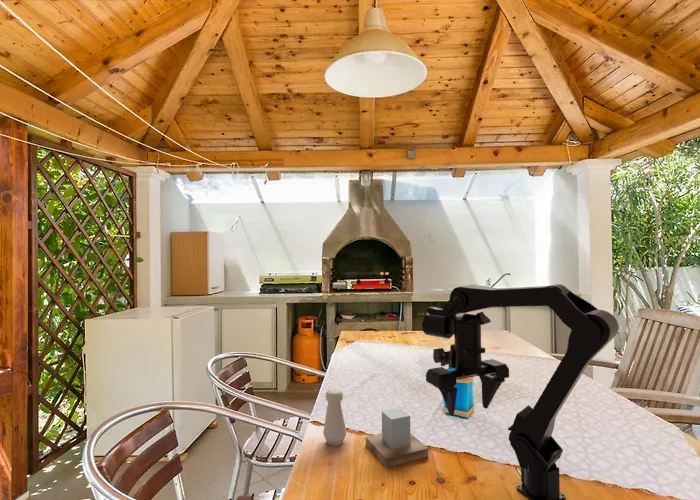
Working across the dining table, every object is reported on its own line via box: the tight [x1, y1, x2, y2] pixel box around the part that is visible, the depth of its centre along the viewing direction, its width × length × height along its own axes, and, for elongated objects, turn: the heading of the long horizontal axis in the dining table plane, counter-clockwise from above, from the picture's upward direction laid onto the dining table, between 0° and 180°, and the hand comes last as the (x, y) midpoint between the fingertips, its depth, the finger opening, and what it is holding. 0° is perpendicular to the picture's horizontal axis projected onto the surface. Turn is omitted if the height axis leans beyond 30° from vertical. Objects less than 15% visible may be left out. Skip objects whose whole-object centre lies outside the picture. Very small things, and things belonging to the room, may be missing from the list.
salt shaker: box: [322, 388, 347, 447], centre depth 101 cm, size 6×6×13 cm
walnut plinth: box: [365, 432, 429, 468], centre depth 96 cm, size 11×11×2 cm
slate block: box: [381, 407, 411, 449], centre depth 96 cm, size 5×5×7 cm
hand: (468, 411), depth 90 cm, fingers open, 9 cm apart
